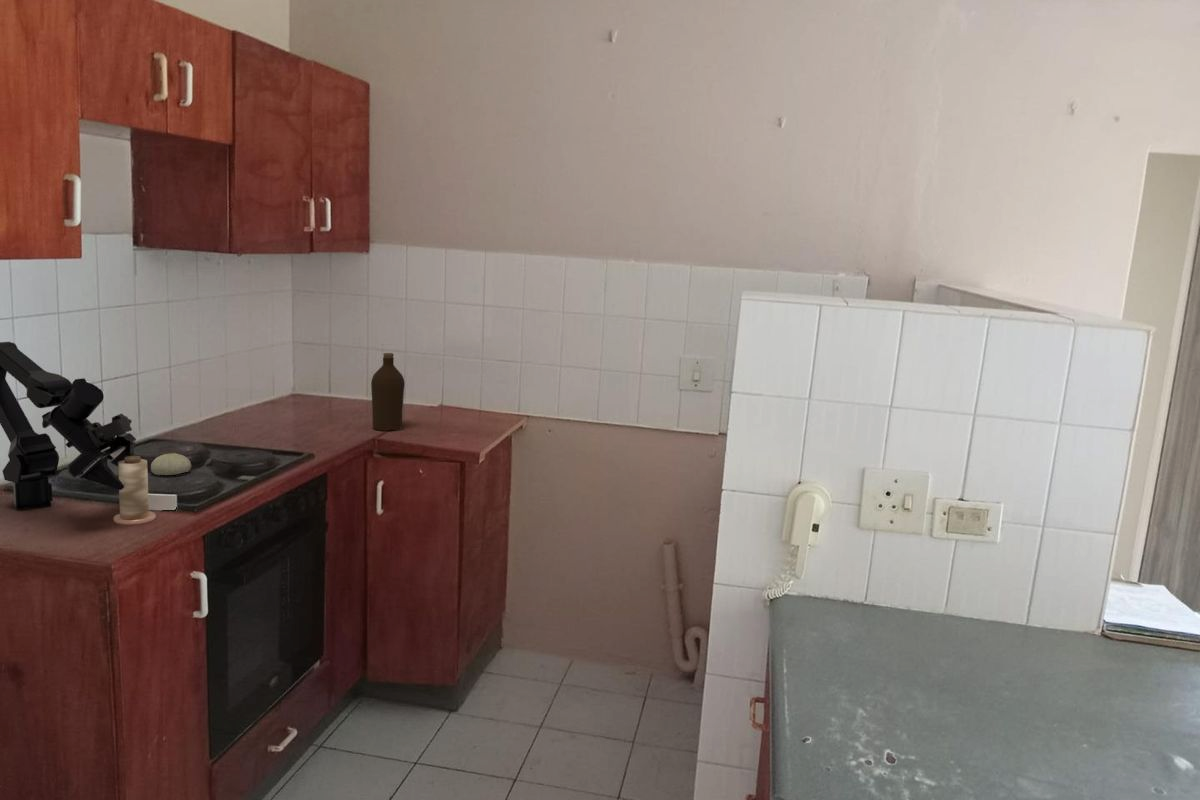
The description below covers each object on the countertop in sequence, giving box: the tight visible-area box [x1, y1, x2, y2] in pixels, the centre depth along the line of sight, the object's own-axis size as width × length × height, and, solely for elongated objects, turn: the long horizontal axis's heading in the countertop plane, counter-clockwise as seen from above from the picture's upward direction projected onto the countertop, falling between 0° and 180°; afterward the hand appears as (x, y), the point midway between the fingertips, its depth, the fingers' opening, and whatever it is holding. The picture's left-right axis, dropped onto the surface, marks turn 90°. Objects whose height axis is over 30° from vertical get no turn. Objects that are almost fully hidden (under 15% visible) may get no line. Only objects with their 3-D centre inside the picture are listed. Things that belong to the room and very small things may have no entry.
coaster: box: [113, 510, 157, 526], centre depth 188 cm, size 8×8×1 cm
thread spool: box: [117, 455, 150, 520], centre depth 187 cm, size 6×6×13 cm
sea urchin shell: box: [150, 452, 192, 476], centre depth 224 cm, size 9×8×8 cm
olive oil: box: [370, 352, 405, 431], centre depth 288 cm, size 11×11×25 cm
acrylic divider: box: [148, 493, 178, 511], centre depth 195 cm, size 10×1×4 cm, turn 93°
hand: (133, 482), depth 187 cm, fingers open, 9 cm apart
